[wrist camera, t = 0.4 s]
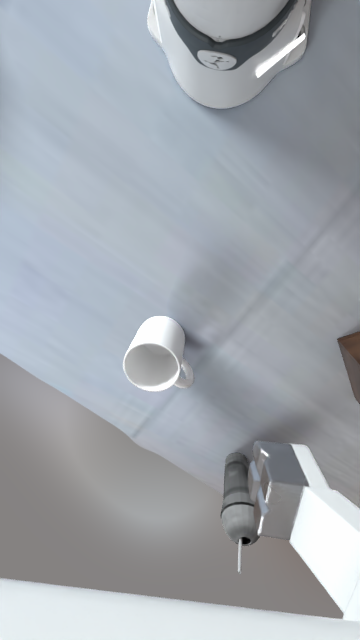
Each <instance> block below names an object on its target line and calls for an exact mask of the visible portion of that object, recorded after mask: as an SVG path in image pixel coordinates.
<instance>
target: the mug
mask: <svg viewBox="0 0 360 640" xmlns="http://www.w3.org/2000/svg"><path fill="white" fill-rule="evenodd" d="M184 346H185V335H184V331H183V329H182V327H181V326H180V325H179V324H178V323H177V322H176V321H175V320H173V319H171V318H168V317H165V316H156V317H152V318H150V319H148V320H146V321H145V322H144V323H143V324H142V325H141V327H140V328H139V330H138V332H137V334H136V336H135V338H134V340H133V342H132V343H131V345H130V347H129V349H128V351H127V353H126V355H125V357H124V361H123V368H124V372H125V374H126V376H127V378H128V379H129V381H130V382H131V383H132V384H134V385H135V386H136V387H138V388H140V389H142V390H145V391H150V392H158V391H163V390H166V389H168V388H170V387H171V386H172V385H175V386H177V387H179V388H189V387H190V386H191V385H192V384H193V382H194V374H193V371H192V368H191V367H190V365H189V363H188V362H187V361H186V360H185V359H184V358H183V352H184ZM181 368H182V369H183V370H184V372H185V374H186V379H183V378H181V377H180V376H179V375H180V370H181Z"/></svg>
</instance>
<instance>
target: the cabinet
mask: <svg viewBox="0 0 360 640" xmlns="http://www.w3.org/2000/svg"><path fill="white" fill-rule="evenodd" d="M337 340H338V344H339V347H340V350H341V354H342V357H343V360H344V363H345V367H346V370H347V373H348V377H349V380H350V383H351V386H352V390H353V393H354V396H355V398H356V400H357V401H358V403H359V404H360V332H357V333H354V334H351V335H348V336H345V337H342V338H339V339H337Z"/></svg>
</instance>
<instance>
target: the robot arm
mask: <svg viewBox="0 0 360 640" xmlns="http://www.w3.org/2000/svg"><path fill="white" fill-rule="evenodd" d="M311 1H312V0H152V1H151V5H150V9H149V13H148V18H147V24H148V29H149V32H150V34H151V36H152V37H153V39H154V40H155V41H156V42H157V44H158V45H159V46H160V47H161V48H162V49H163V50H164V52H165V54H166V56H167V59H168V62H169V64H170V67H171V70H172V72H173V75H174V77H175V79H176V80H177V82H178V84H179V85H180V87H181V88H182V89H183V90H184V92H185V93H186V94H187V95H188V96H190V97H191V98H192V99H193V100H195V101H196V102H198V103H200V104H202V105H204V106H207V107H211V108H216V109H226V108H232V107H236V106H239V105H242V104H244V103H246V102H248V101H249V100H251V99H252V98H254V97H255V96H256V95H258V94H259V93H260V92H261V91H262V90H263V89H264V88H265V87H266V86H267V85H268V83H269V82H270V81H271V80H272V79H273V78H274V77H275V76H276V74H278V73H279V72H280V71H282V70H284V69H286V68H288V67H290V66H291V65H293V64H295V63H296V62H297V61H299V60H300V59H301V57H302V56H303V54H304V51H305V49H306V44H307V36H308V27H309V18H310V9H311ZM298 34H299V38H297V37H298ZM252 453H253V457H254V460H253V461H252V462H251V463H250V464H249V470H248V491H249V496H250V499H251V500H252V501H253V502H254V503H255V505H254V509H253V515H254V520H255V525H256V529H257V534H258V536H265V537H271V538H278V539H285V540H290V543H291V545H292V546H293V547H294V549H295V550H296V551H297V553H298V554H299V555H300V556H301V558H302V559H303V560H304V562H305V563H306V564H307V565H308V567H309V568H310V570H311V571H312V572H313V573H314V575H315V576H316V577H317V579H318V580H319V581H320V583H321V584H322V585H323V587H324V588H325V589H326V591H327V592H328V593H329V595H330V596H331V597H332V599H333V600H334V601H335V602H336V604H337V605H338V606H339V608H340V609H341V610H342V611H343V613H344V616H343V618H342V619H334V618H325V617H318V616H310V615H301V614H293V613H284V612H276V611H269V610H260V609H252V608H243V607H235V606H227V605H219V604H211V603H203V602H193V601H186V600H178V599H169V598H160V597H152V596H144V595H135V594H128V593H119V592H111V591H102V590H94V589H86V588H78V587H70V586H62V585H53V584H45V583H37V582H29V581H20V580H12V579H4V578H0V640H360V508H358V507H357V506H356V505H355V504H353V503H352V502H351V501H349V500H348V499H347V498H346V497H344V496H343V495H342V494H341V493H339V492H338V491H337V490H331V488H330V487H329V485H328V483H327V481H326V479H325V477H324V475H323V473H322V472H321V470H320V468H319V466H318V464H317V462H316V460H315V458H314V457H313V455H312V453H311V451H310V449H309V447H308V446H306V445H301V444H283V443H274V442H265V441H255V443H254V445H253V450H252Z"/></svg>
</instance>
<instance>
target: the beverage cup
mask: <svg viewBox="0 0 360 640" xmlns="http://www.w3.org/2000/svg"><path fill="white" fill-rule="evenodd" d="M248 470H249V464H248V461H247V458H246V457H245V456H244V455H243V454H240V453H232V454H230V455H228V456H227V458H226V464H225V476H224V499H223V505H222V511H221V519H222V524H223V527H224V530H225V532H226V534H227V535H228V537H229V538H230V539H231V540H232V541H234V542H235V543H236V544H239V550H238V573H239V574H241V565H242V546H248V545H251V544H253V543H255V542H256V541H257V540H258V538H259V537H260V536H258V534H257V529H256V525H255V520H254V515H253V509H254V505H255V503H254V502H253V501H252V500H251V499H250V496H249V491H248Z"/></svg>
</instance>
